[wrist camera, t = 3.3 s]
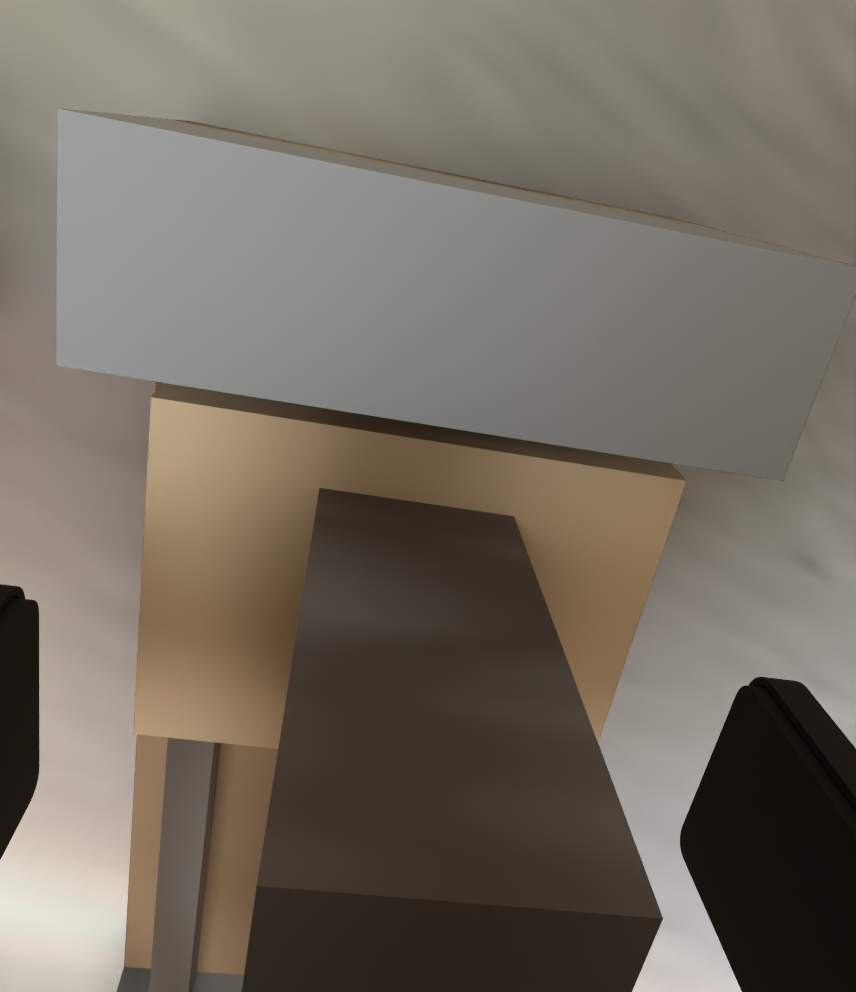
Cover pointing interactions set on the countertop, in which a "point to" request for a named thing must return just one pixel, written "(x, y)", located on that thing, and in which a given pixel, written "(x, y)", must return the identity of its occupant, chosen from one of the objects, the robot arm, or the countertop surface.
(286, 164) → the grey rectangular block
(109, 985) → the countertop surface
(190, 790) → the track
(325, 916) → the carriage
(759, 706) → the robot arm
